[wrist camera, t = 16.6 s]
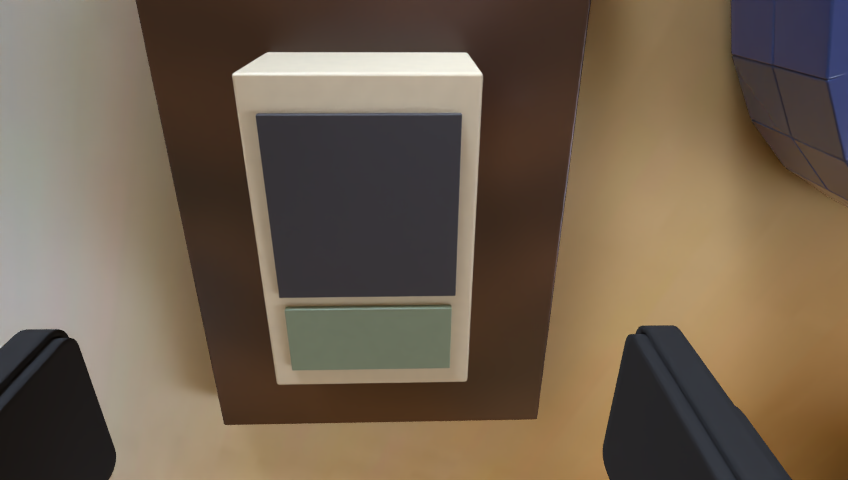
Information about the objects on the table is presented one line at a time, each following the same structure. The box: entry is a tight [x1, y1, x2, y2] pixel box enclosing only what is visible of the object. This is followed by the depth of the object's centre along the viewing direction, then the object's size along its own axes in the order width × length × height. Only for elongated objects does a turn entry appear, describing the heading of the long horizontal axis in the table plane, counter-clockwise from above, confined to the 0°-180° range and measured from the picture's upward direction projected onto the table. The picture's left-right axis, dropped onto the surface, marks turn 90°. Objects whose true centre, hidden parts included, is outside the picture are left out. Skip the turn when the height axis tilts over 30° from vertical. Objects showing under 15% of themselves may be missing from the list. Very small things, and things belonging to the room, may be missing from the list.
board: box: [136, 0, 591, 425], centre depth 19 cm, size 20×13×2 cm, turn 0°
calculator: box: [232, 52, 483, 385], centre depth 17 cm, size 10×6×4 cm, turn 0°
